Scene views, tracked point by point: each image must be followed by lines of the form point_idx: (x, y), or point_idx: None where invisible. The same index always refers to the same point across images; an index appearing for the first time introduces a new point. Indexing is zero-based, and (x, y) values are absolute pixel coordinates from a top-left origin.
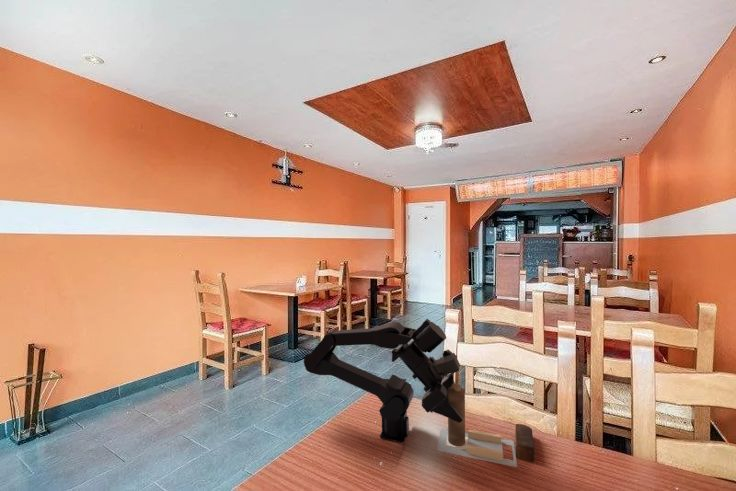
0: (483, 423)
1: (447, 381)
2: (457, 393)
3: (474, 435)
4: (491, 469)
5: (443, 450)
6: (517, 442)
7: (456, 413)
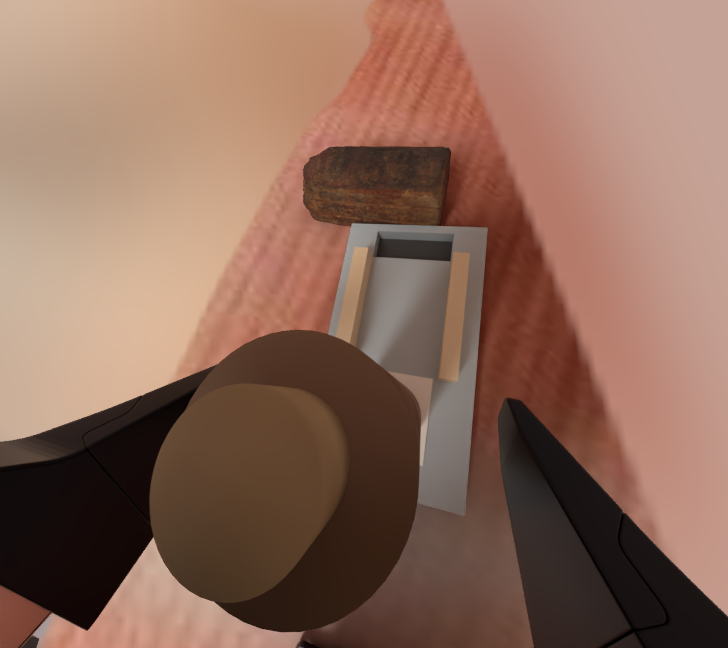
0: (247, 304)
1: (14, 545)
2: (397, 456)
3: (353, 340)
4: (490, 308)
5: (459, 481)
6: (430, 188)
7: (579, 467)
